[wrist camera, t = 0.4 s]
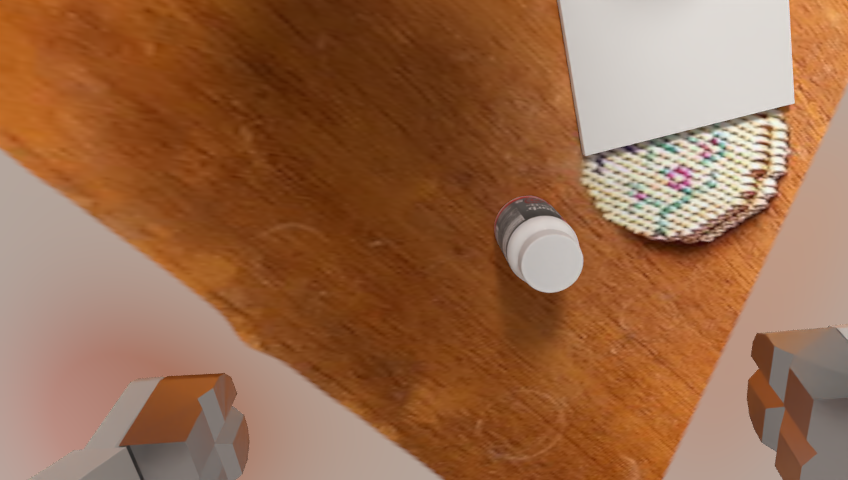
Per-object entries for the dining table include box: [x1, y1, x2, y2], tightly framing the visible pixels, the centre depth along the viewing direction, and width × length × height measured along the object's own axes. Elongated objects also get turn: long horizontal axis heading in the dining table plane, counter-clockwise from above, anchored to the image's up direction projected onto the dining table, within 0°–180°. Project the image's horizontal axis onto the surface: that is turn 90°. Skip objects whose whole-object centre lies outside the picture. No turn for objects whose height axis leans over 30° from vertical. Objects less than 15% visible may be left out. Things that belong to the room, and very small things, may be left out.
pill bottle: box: [494, 196, 583, 293], centre depth 53 cm, size 6×6×10 cm
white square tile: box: [557, 0, 794, 156], centre depth 53 cm, size 18×18×1 cm
